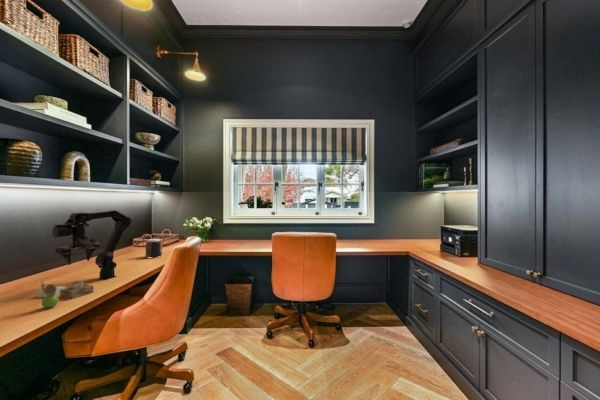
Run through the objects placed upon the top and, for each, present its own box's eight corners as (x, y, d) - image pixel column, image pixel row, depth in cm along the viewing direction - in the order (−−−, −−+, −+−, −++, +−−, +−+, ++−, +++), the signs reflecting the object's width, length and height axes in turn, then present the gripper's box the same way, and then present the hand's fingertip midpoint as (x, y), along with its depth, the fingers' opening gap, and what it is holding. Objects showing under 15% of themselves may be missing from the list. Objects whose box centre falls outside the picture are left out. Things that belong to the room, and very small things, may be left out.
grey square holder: (81, 290, 131) (81, 283, 131) (93, 292, 128) (93, 285, 128) (59, 296, 122) (60, 289, 122) (72, 299, 119) (72, 291, 119)
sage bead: (51, 292, 128) (51, 286, 128) (65, 291, 128) (65, 286, 128) (37, 297, 121) (37, 291, 121) (52, 297, 121) (52, 291, 121)
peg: (79, 292, 127) (79, 280, 127) (83, 293, 126) (83, 280, 126) (71, 295, 124) (71, 282, 124) (75, 296, 123) (75, 283, 123)
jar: (153, 259, 201) (153, 240, 201) (142, 258, 204) (142, 240, 204) (165, 256, 212) (165, 238, 212) (154, 255, 216) (154, 238, 216)
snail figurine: (47, 305, 112) (47, 278, 112) (62, 304, 112) (62, 278, 112) (35, 310, 107) (35, 282, 107) (51, 309, 107) (51, 282, 107)
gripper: (69, 238, 127) (69, 268, 127) (106, 233, 145) (106, 259, 145) (54, 237, 130) (54, 266, 130) (92, 232, 148) (93, 258, 148)
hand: (79, 262), depth 138 cm, fingers open, 9 cm apart
